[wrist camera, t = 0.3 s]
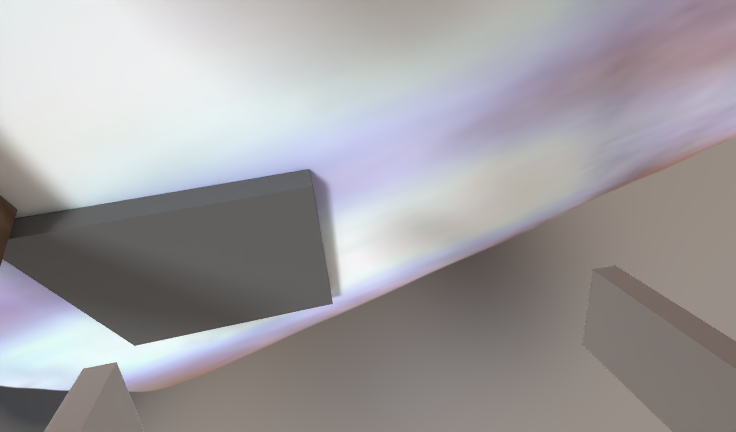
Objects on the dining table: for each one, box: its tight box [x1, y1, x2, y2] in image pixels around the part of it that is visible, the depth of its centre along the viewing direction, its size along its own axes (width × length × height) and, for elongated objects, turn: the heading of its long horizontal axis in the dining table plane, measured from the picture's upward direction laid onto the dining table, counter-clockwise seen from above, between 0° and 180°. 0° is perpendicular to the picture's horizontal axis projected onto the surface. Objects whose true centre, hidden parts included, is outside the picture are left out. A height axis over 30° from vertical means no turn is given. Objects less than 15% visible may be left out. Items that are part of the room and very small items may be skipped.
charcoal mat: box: [3, 169, 333, 346], centre depth 35 cm, size 20×20×2 cm
